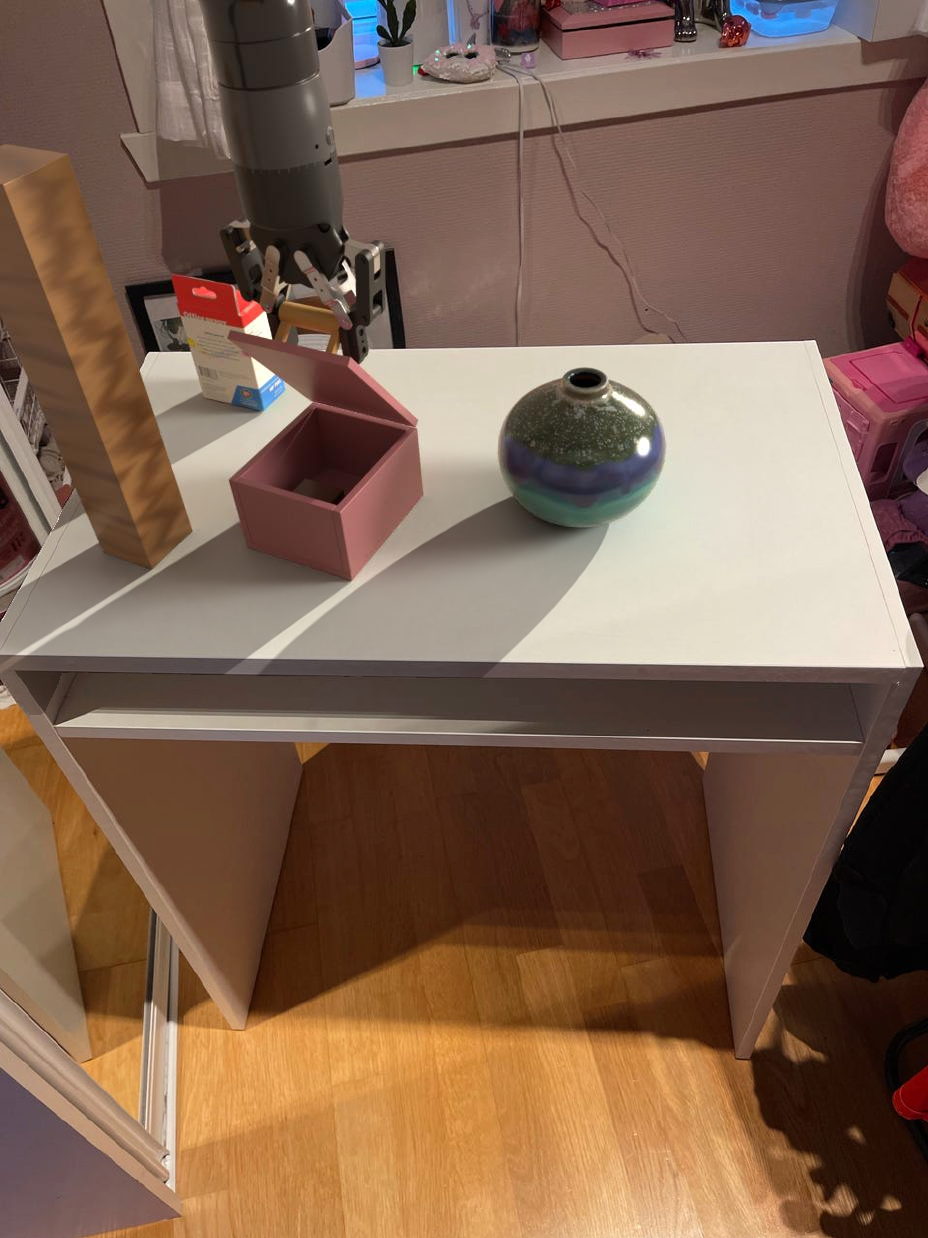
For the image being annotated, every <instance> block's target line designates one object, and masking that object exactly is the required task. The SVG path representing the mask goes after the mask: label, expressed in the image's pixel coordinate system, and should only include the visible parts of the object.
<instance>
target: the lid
mask: <svg viewBox="0 0 928 1238" xmlns="http://www.w3.org/2000/svg"><path fill="white" fill-rule="evenodd" d="M278 316H279V320H280V321H281V322H280V325H279V328H278V331H277V334H276V336H275V339H274V340H273V339H268V338H264V337H259V336H255V335H251V334H246V333H242V332H237V331H233V330H230V331H229V334H228V337H227V339H228V340H229V341H231V342H232V343H233V344H235V345H236V346H238V347H239V348H240V349H242V350H243V351H244V352H246V353H247V354H248V355H250V356H251V357H252V358H254V359H255V360H256V361H258V362H259V363H260V364H262V365H263V366H264V367H266V368H267V369H268V370H270V371H271V372H272V373H274V374H275V375H276V376H278V377H279V378H280V379H282V380H283V381H284V383H286V384H287V385H288V386H290V387H291V388H293V389H294V390H295V391H297V392H298V393H299V394H301V396H303V397H305V398H306V399H307V400H308V401H310V402H311V403H312V402H315V403H319V404H323V405H327V406H331V407H335V408H339V409H343V410H347V411H351V412H355V413H359V414H363V415H367V416H371V417H375V418H379V419H383V420H387V421H391V422H395V423H399V424H403V425H407V426H410V427H414V428H417V425H418V422H419V419H418V417H416V416H415V415H414V414H413V413H411V411H409V409H407V408H406V407H405V406H404V405H403V404H402V403H401V402H400V401H399V400H398V399H396V398H395V397H394V396H393V395H392V393H390V392H389V391H388V390H387V389H386V388H384V386H382V385H381V384H380V383H379V382H378V381H377V380H376V379H375V378H374V377H373V376H372V375H371V374H369V373H368V372H367V371H366V369H364V368H363V367H362V366H361V365H360V364H359V365H358V364H357V363H356V362H355V361H354V360H353V359H352V358H351V357H347V356H343V354H338V350H339V348H340V347H341V342H340V336H339V330H338V329H339V328H340V327H341V326H340V324H339V322H338V321H337V319H336V317H335V315H334V314H333V312H332V310H331V309H326V308H321V307H317V306H316V307H315V306H311V305H306V304H303V303H297V302H293V301H292V302H291V301H288V300H286V301H285V302H283V303H282V304H281V305H280V307H279V312H278ZM291 325H292V326H296V328H301V329H306V330H310V331H315V332H320V333H324V334H329V335H330V336H329V340H328V342H327V346H326V349H325V350H320V349H317V348H312V347H309V346H308V347H307V346H303V345H299V344H298V345H294V344H290V343H286V340H287V337H288V334H289V331H290V328H291Z"/></svg>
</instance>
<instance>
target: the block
mask: <svg viewBox="0 0 928 1238" xmlns="http://www.w3.org/2000/svg"><path fill="white" fill-rule="evenodd" d="M293 493H296V494H300V495H303V496H306V497H310V498H313V499H317V500H320V501H323V502H327V503H330V504H333V505H336V506H337V505H338V504H339V503H340V502H341V501H342V500H343V499H344V498H345V495H344V490H343V489H341V488H337V487H334V486H330V485H327V484H323V483H320V482H316V481H312V480H309V479H304V480H303V481H302V482H301V483H300V484H299V485H298V486H297V488H296V489H295V490H294V491H293Z"/></svg>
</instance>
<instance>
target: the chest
mask: <svg viewBox="0 0 928 1238" xmlns="http://www.w3.org/2000/svg"><path fill="white" fill-rule="evenodd" d="M418 431H419V430H418V428H417V427H411V426H407V425H403V424H399V423H395V422H391V421H387V420H383V419H379V418H375V417H371V416H367V415H363V414H359V413H356V412H352V411H348V410H344V409H340V408H336V407H332V406H328V405H324V404H320V403H316V402H312V401H311V403H310V404H309V405H308V406H307V407H306V408H304V409H303V411H301V412H300V413H299V414H298V415H296V417H295V418H294V419H293V420H291V421H290V422H289V423H288V424H287V425H286V426H285V427H284V428H283V429H282V430H280V432H279V433H278V434H276V435H275V436H274V437H273V438H271V440H270V441H269V442H267V444H266V445H264V446H263V447H262V448H261V449H260V450H259V451H258V452H256V454H254V455H253V456H252V457H251V458H250V459H249V460H248V461H247V462H245V464H244V465H243V466H241V468H239V469H238V470H237V471H236V472H235V473H234V474H233V475H232V476H231V477H230V478H228V483H229V487H230V491H231V494H232V498H233V500H234V501H233V502H234V505H235V509H236V513H237V516H238V519H239V522H240V526H241V529H242V533H243V536H244V540H245V544H246V547H248V548H251V549H253V550H256V551H259V552H263V553H264V554H265V553H266V554H268V555H272V556H275V557H278V558H281V559H283V560H286V561H290V562H293V563H297V564H299V565H302V566H305V567H309V568H311V569H314V570H317V571H321V572H324V573H327V574H330V575H333V576H335V577H339V578H343V579H345V580H348V581H351V582H352V581H353V580H354V579H355V578H356V577H357V576H358V575H359V573H360V572H361V571H362V570H363V568H364V567H365V566H366V565H367V564H368V562H369V561H370V560H372V558H373V556H374V555H375V554H377V552H378V551H379V549H380V548H381V547H382V546H383V544H384V543H386V541H387V540H388V539H389V537H390V536H391V535H392V533H393V532H394V531H395V530H397V527H398V526H399V525H400V524H401V523H402V522H403V520H404V519H405V518H406V517H407V515H409V513H410V512H411V510H412V509H413V508H414V507H415V506H416V505H417V504H418V502H419V501H420V500H421V499H422V497H423V496H424V488H423V486H424V485H423V476H422V465H421V454H420V444H419V443H420V442H419V432H418ZM304 479H309V480H312V481H316V482H320V483H323V484H327V485H330V486H334V487H337V488H341V489H343V490H344V495H345V498H344V499H343V500H342V501H341V502H340V503H339V504H338V505H337V506H336V505H333V504H330V503H327V502H323V501H320V500H317V499H313V498H310V497H306V496H303V495H300V494H296V493H293V491H294V490H295V489H296V488H297V486H298V485H299V484H300V483H301V482H302V481H303V480H304Z"/></svg>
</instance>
